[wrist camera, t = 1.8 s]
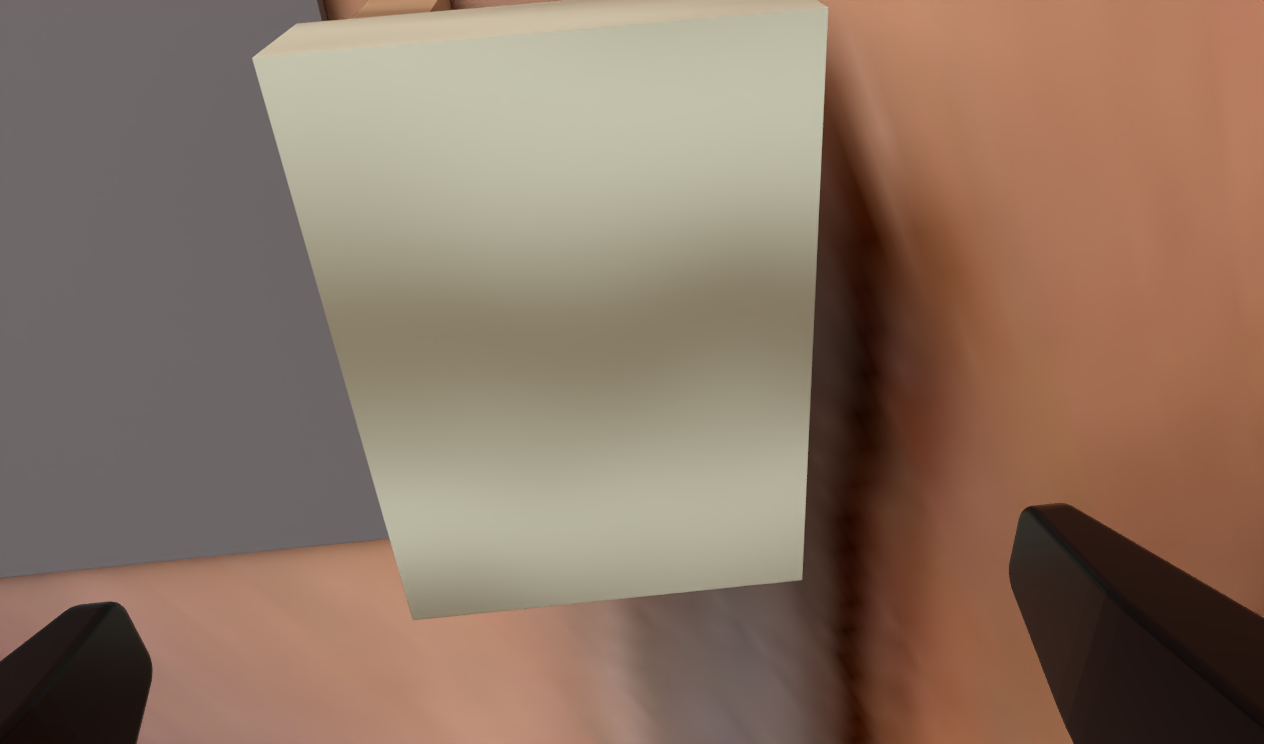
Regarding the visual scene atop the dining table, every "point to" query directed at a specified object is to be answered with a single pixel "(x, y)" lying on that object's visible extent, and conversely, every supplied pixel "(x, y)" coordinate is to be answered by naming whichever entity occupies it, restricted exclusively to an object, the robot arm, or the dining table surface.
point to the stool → (567, 283)
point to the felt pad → (160, 298)
